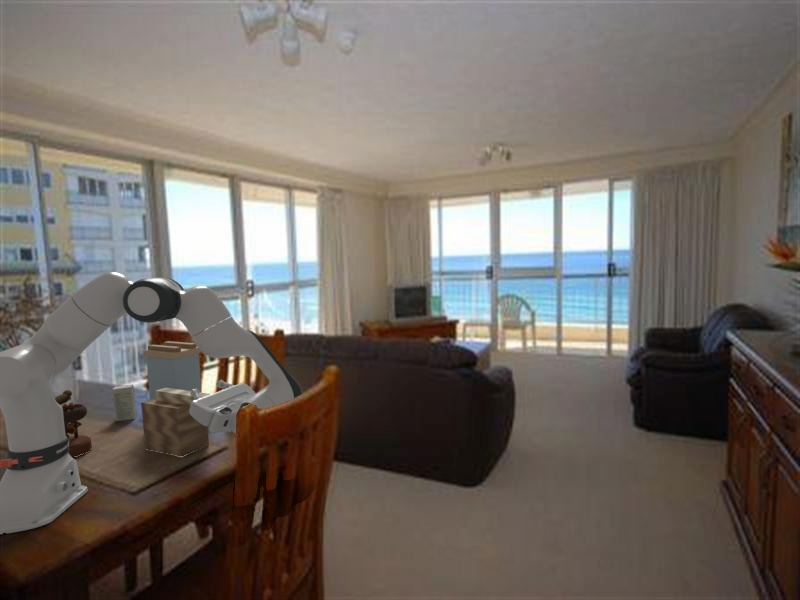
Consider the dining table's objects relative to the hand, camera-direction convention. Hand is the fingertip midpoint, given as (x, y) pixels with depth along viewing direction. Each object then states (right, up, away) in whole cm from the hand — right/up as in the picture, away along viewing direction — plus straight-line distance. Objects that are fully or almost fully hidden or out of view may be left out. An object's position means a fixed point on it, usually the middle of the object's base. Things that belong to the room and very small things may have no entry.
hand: (206, 386), depth 136 cm
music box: (-44, -22, +7) cm, 50 cm away
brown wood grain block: (-12, -20, +8) cm, 25 cm away
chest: (-22, -19, +29) cm, 41 cm away
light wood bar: (-8, -6, +4) cm, 10 cm away
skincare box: (-44, -19, +36) cm, 60 cm away
